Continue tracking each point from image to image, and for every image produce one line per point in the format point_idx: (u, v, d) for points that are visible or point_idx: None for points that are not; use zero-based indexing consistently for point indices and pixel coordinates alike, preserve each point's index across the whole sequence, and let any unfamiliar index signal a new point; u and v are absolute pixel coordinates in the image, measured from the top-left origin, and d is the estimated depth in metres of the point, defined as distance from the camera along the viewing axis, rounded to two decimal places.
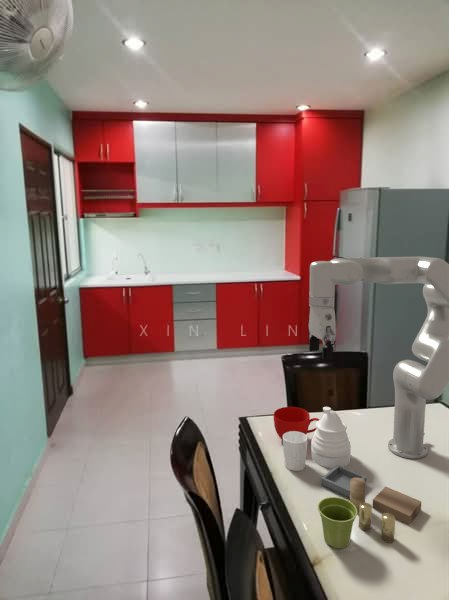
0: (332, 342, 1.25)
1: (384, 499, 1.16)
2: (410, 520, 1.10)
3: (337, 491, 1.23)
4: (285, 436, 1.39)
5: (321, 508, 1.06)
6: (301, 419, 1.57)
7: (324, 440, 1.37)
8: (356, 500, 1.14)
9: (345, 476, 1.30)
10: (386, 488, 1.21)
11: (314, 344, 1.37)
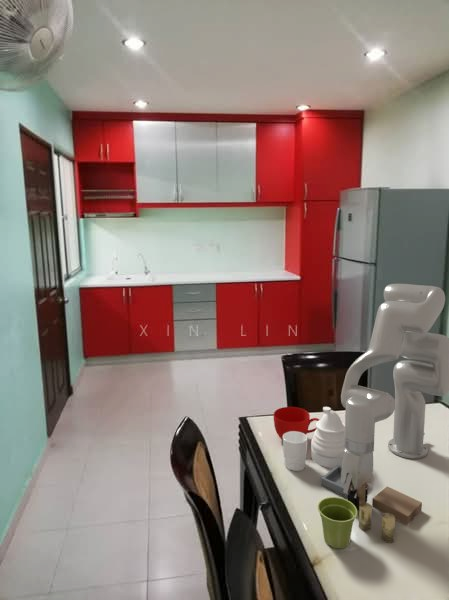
0: None
1: (384, 499, 1.16)
2: (409, 520, 1.10)
3: (337, 491, 1.23)
4: (285, 436, 1.39)
5: (321, 508, 1.06)
6: (301, 419, 1.57)
7: (324, 440, 1.37)
8: None
9: None
10: (388, 488, 1.21)
11: None
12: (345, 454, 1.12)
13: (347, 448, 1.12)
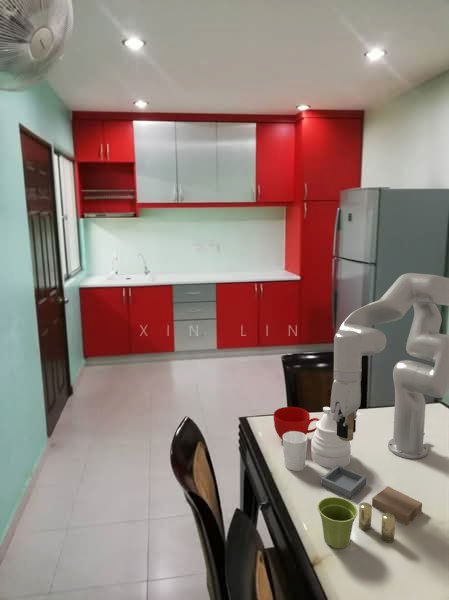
0: None
1: (384, 498, 1.16)
2: (408, 520, 1.10)
3: (337, 491, 1.23)
4: (285, 436, 1.39)
5: (321, 508, 1.06)
6: (301, 419, 1.57)
7: (324, 440, 1.37)
8: None
9: (345, 476, 1.30)
10: (388, 488, 1.21)
11: None
12: (334, 384, 1.19)
13: (336, 379, 1.19)
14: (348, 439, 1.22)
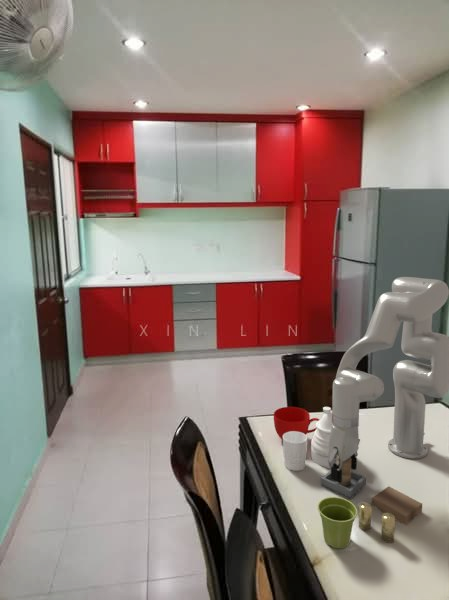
0: None
1: (384, 498, 1.16)
2: (407, 520, 1.10)
3: (337, 491, 1.23)
4: (285, 436, 1.39)
5: (321, 508, 1.06)
6: (301, 419, 1.57)
7: (324, 440, 1.37)
8: (343, 475, 1.25)
9: None
10: (389, 488, 1.21)
11: None
12: (332, 429, 1.22)
13: (334, 424, 1.22)
14: (345, 485, 1.25)
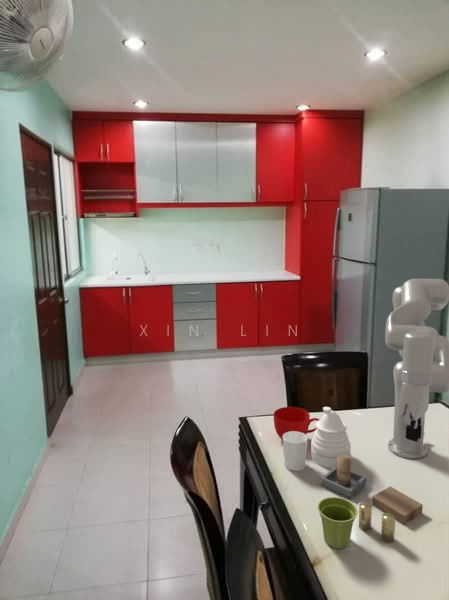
0: None
1: (384, 498, 1.17)
2: (405, 520, 1.10)
3: (337, 491, 1.23)
4: (285, 436, 1.39)
5: (321, 508, 1.06)
6: (301, 419, 1.57)
7: (324, 440, 1.37)
8: (342, 475, 1.25)
9: None
10: (390, 488, 1.21)
11: None
12: (404, 386, 1.15)
13: (405, 381, 1.15)
14: (345, 485, 1.25)
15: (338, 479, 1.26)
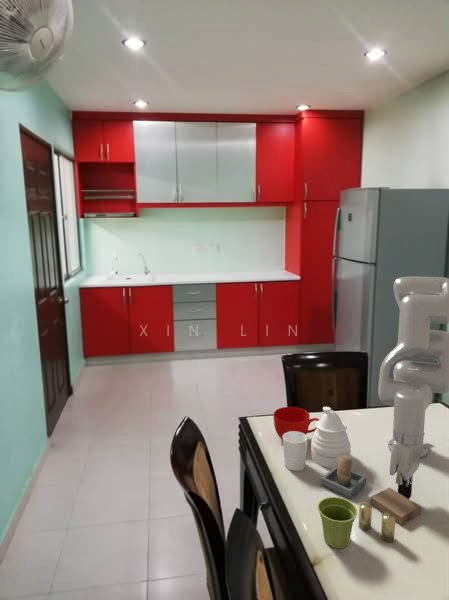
0: None
1: (382, 498, 1.16)
2: (402, 522, 1.10)
3: (337, 491, 1.23)
4: (285, 436, 1.39)
5: (321, 508, 1.06)
6: (301, 419, 1.57)
7: (324, 440, 1.37)
8: (342, 475, 1.25)
9: None
10: (390, 489, 1.20)
11: None
12: (395, 446, 1.14)
13: (396, 440, 1.15)
14: (345, 485, 1.25)
15: (338, 479, 1.26)
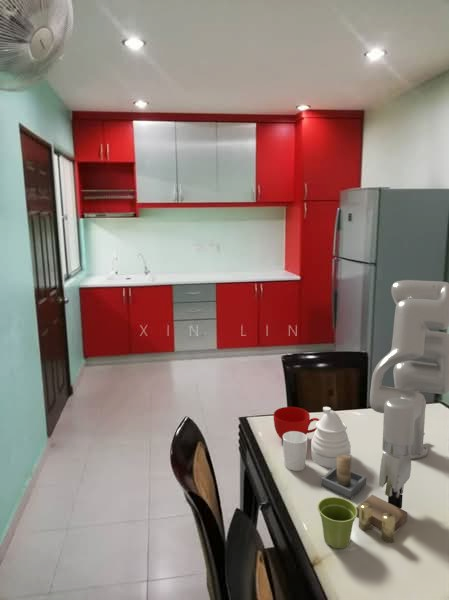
0: None
1: None
2: None
3: (337, 491, 1.23)
4: (285, 436, 1.39)
5: (321, 508, 1.06)
6: (301, 419, 1.57)
7: (324, 440, 1.37)
8: (342, 475, 1.25)
9: None
10: (373, 496, 1.17)
11: None
12: (384, 456, 1.10)
13: (386, 450, 1.11)
14: (345, 485, 1.25)
15: (338, 479, 1.26)
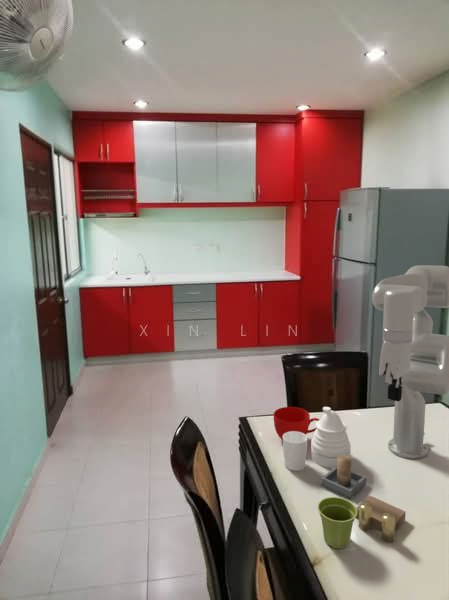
0: None
1: None
2: None
3: (337, 491, 1.23)
4: (285, 436, 1.39)
5: (321, 508, 1.06)
6: (301, 419, 1.57)
7: (324, 440, 1.37)
8: (341, 475, 1.25)
9: None
10: (370, 497, 1.17)
11: None
12: (384, 344, 1.12)
13: (386, 339, 1.13)
14: (344, 485, 1.25)
15: (337, 478, 1.26)
